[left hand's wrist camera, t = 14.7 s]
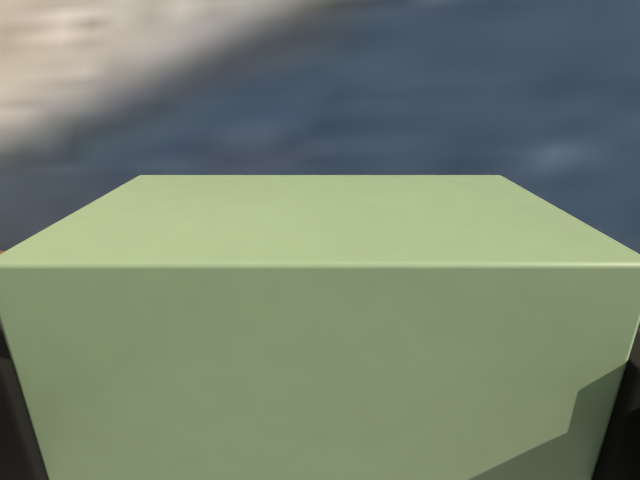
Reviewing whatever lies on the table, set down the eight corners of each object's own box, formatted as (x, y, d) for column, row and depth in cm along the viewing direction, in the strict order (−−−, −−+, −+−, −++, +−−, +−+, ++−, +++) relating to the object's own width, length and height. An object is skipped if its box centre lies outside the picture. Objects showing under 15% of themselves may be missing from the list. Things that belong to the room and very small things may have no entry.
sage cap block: (501, 174, 12) (661, 263, 6) (474, 357, 14) (574, 544, 9) (138, 174, 12) (-22, 263, 6) (165, 357, 14) (64, 543, 9)
